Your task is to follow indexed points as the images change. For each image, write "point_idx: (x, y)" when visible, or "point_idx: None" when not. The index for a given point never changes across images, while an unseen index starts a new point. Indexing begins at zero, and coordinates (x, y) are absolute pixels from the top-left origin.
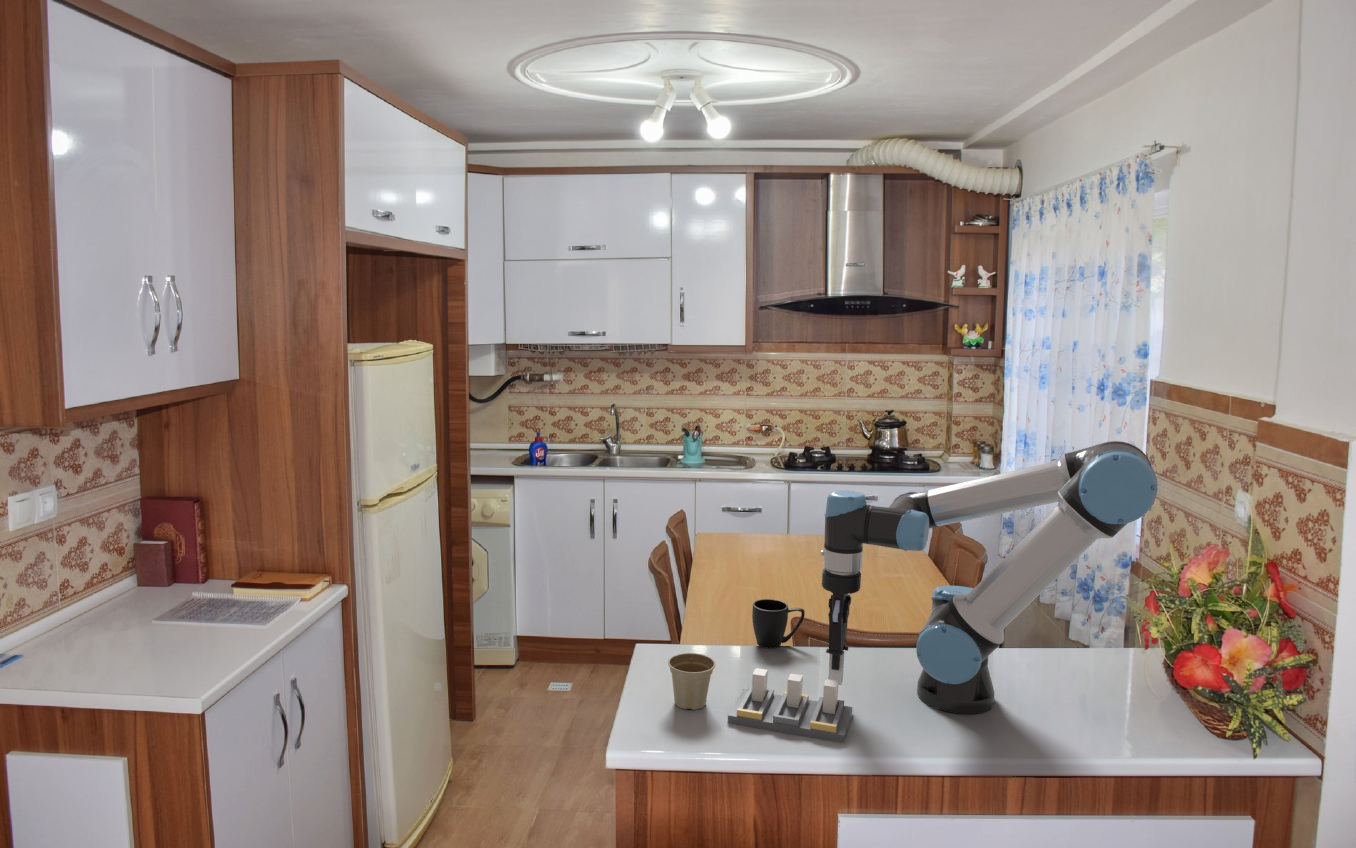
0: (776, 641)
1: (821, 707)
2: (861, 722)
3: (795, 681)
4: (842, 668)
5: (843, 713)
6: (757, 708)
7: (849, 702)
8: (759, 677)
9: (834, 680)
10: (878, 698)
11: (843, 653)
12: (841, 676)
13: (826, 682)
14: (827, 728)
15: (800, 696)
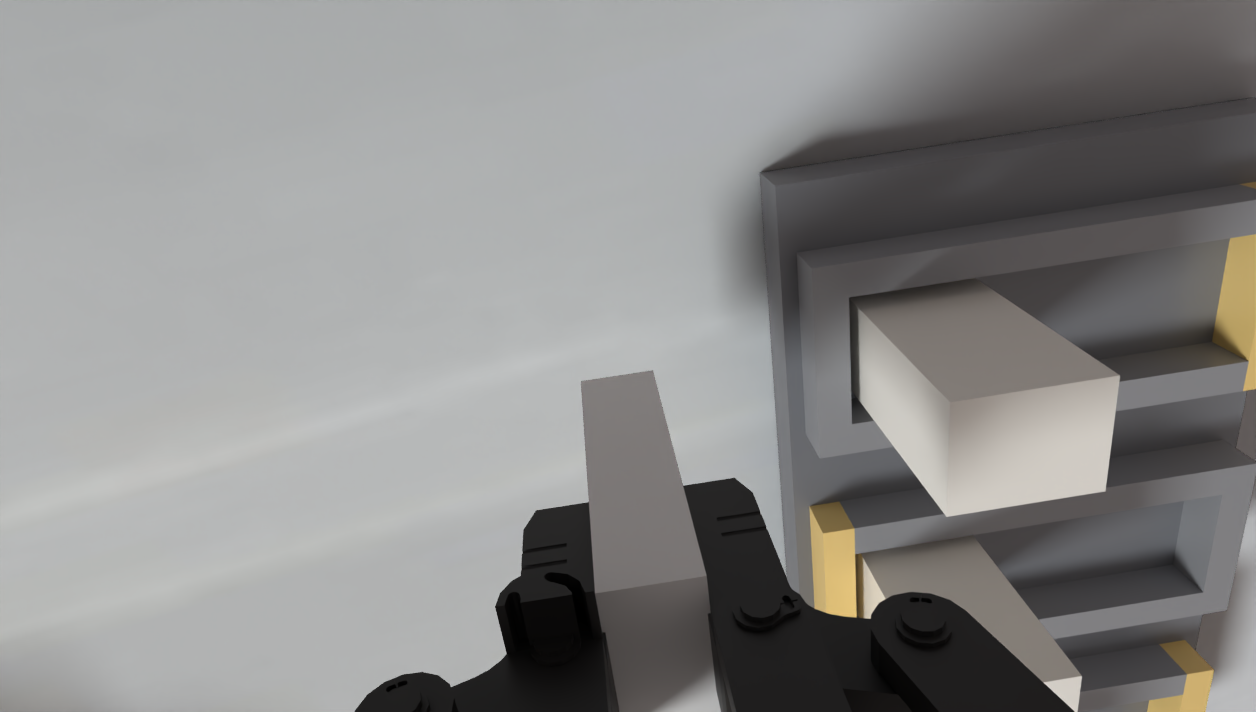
0: None
1: None
2: (868, 62)
3: (1072, 701)
4: (674, 460)
5: (922, 221)
6: None
7: (557, 251)
8: None
9: (957, 440)
10: (333, 40)
11: (675, 583)
12: (662, 417)
13: (1028, 490)
14: None
15: (938, 572)
